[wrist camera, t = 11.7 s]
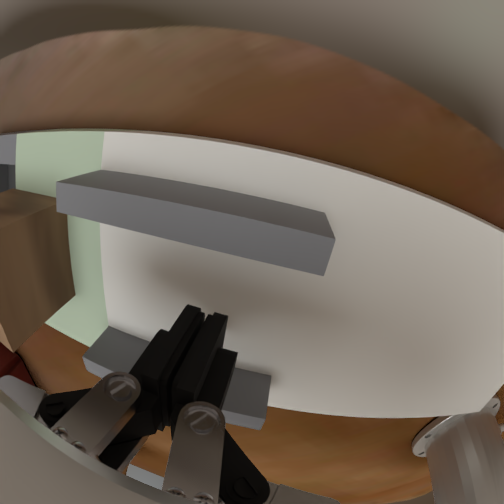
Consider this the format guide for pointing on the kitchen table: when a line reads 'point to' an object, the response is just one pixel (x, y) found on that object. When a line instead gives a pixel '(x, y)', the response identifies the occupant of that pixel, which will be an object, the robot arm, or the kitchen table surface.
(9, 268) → the walnut block
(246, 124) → the kitchen table surface
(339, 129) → the kitchen table surface
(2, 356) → the plant pot
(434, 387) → the channel deck
